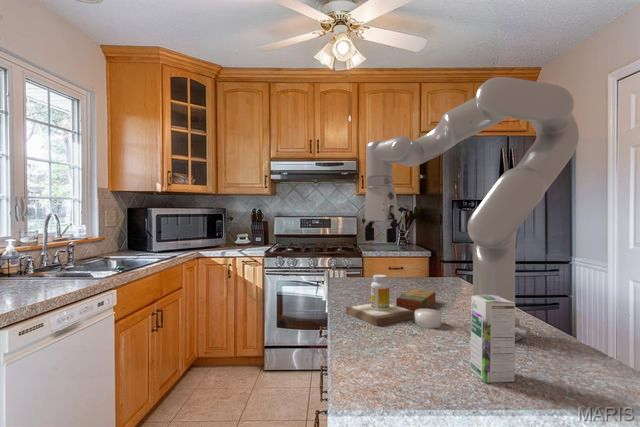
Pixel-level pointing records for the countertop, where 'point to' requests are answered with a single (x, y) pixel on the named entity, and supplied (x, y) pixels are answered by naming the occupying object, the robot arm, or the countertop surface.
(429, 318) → the white glossy dome
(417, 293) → the carton
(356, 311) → the tray
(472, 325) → the syrup box
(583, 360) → the countertop surface
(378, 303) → the supplement bottle
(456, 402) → the countertop surface
